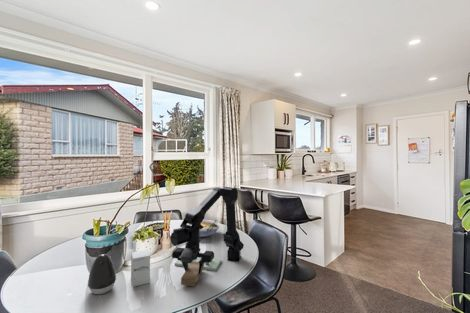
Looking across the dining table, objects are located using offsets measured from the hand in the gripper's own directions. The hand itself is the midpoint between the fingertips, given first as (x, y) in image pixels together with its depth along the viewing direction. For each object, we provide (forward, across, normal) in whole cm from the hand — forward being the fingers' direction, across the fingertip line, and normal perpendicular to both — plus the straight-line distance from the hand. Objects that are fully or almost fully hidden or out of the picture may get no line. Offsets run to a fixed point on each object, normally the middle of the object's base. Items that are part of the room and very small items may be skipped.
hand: (193, 272), depth 108 cm
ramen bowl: (+3, -15, +53) cm, 55 cm away
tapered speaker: (+3, -33, -18) cm, 38 cm away
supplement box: (+3, -22, -8) cm, 24 cm away
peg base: (+3, -3, +14) cm, 15 cm away
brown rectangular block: (+2, 0, 0) cm, 2 cm away
